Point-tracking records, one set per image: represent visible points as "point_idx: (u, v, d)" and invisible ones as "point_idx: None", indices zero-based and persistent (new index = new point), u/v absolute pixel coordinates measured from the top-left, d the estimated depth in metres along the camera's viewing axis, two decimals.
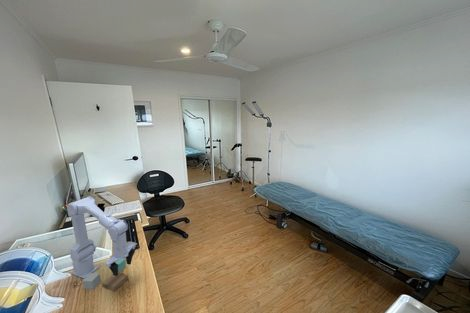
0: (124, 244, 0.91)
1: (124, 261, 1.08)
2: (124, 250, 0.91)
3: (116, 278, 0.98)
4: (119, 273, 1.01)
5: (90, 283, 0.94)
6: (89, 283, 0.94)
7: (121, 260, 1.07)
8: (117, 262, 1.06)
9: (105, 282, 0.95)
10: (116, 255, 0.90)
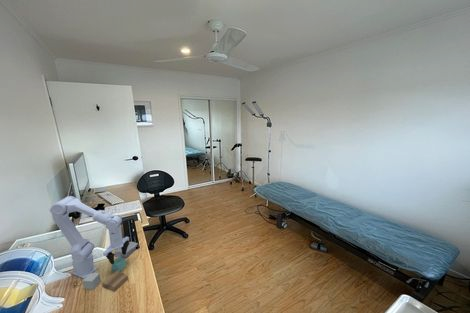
0: (121, 234, 1.05)
1: (124, 261, 1.08)
2: (119, 241, 1.04)
3: (116, 278, 0.98)
4: (119, 273, 1.01)
5: (90, 283, 0.94)
6: (89, 283, 0.94)
7: (121, 260, 1.07)
8: (117, 262, 1.06)
9: (105, 282, 0.95)
10: (112, 246, 1.02)
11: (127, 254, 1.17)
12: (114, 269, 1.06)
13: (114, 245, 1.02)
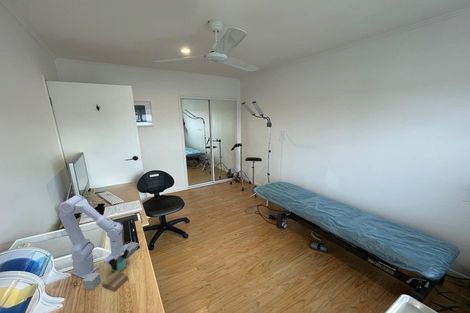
0: (122, 242, 1.06)
1: (124, 261, 1.08)
2: (120, 249, 1.04)
3: (116, 278, 0.98)
4: (119, 273, 1.01)
5: (90, 283, 0.94)
6: (89, 283, 0.94)
7: (121, 260, 1.07)
8: (117, 262, 1.06)
9: (105, 282, 0.95)
10: (113, 253, 1.03)
11: (128, 254, 1.16)
12: None
13: (115, 253, 1.03)
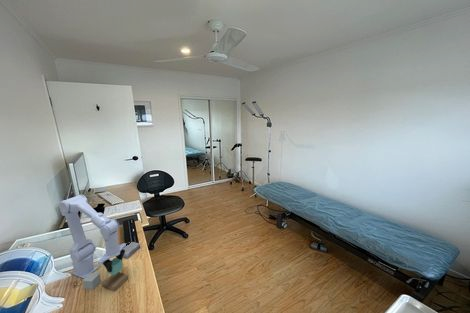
0: (116, 243, 0.94)
1: (120, 262, 0.98)
2: (116, 249, 0.95)
3: (116, 278, 0.98)
4: (119, 273, 1.01)
5: (90, 283, 0.94)
6: (89, 283, 0.94)
7: (117, 261, 0.97)
8: (113, 263, 0.96)
9: (105, 282, 0.95)
10: (108, 253, 0.93)
11: (129, 254, 1.16)
12: None
13: (110, 253, 0.93)
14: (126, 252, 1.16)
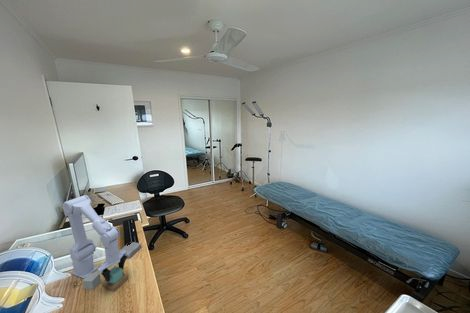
0: (116, 250, 0.94)
1: (120, 271, 0.98)
2: (116, 256, 0.94)
3: None
4: None
5: (90, 283, 0.94)
6: (89, 283, 0.94)
7: (117, 270, 0.97)
8: (113, 272, 0.95)
9: (105, 282, 0.95)
10: (108, 261, 0.93)
11: (130, 255, 1.16)
12: None
13: (110, 261, 0.93)
14: (127, 252, 1.16)
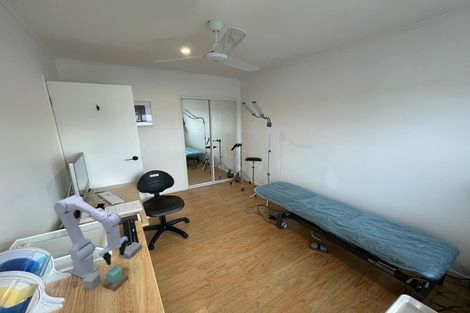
0: (118, 235, 0.98)
1: (120, 271, 0.98)
2: (117, 241, 0.97)
3: None
4: None
5: (90, 283, 0.94)
6: (89, 283, 0.94)
7: (117, 270, 0.97)
8: (113, 272, 0.95)
9: (105, 282, 0.96)
10: (109, 246, 0.96)
11: (131, 255, 1.16)
12: (109, 280, 0.95)
13: (111, 245, 0.96)
14: (128, 252, 1.15)
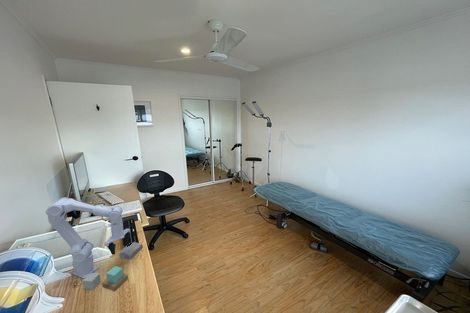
0: (122, 225, 1.06)
1: (121, 271, 0.98)
2: (121, 232, 1.05)
3: None
4: None
5: (90, 283, 0.94)
6: (89, 283, 0.94)
7: (118, 270, 0.97)
8: (113, 272, 0.96)
9: (105, 282, 0.96)
10: (114, 236, 1.03)
11: (132, 255, 1.16)
12: (110, 280, 0.95)
13: (115, 236, 1.03)
14: (128, 252, 1.15)
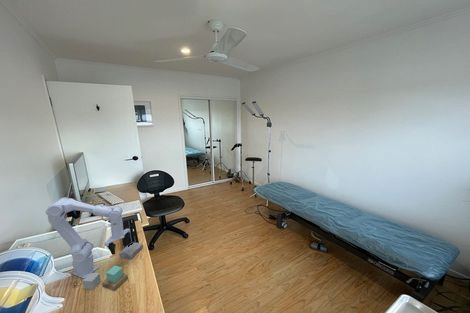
0: (122, 225, 1.06)
1: (121, 270, 0.98)
2: (121, 232, 1.05)
3: None
4: None
5: (90, 283, 0.94)
6: (89, 283, 0.94)
7: (117, 269, 0.97)
8: (113, 272, 0.96)
9: (105, 282, 0.96)
10: (114, 236, 1.03)
11: (132, 255, 1.16)
12: (109, 279, 0.96)
13: (115, 236, 1.03)
14: (129, 252, 1.15)
